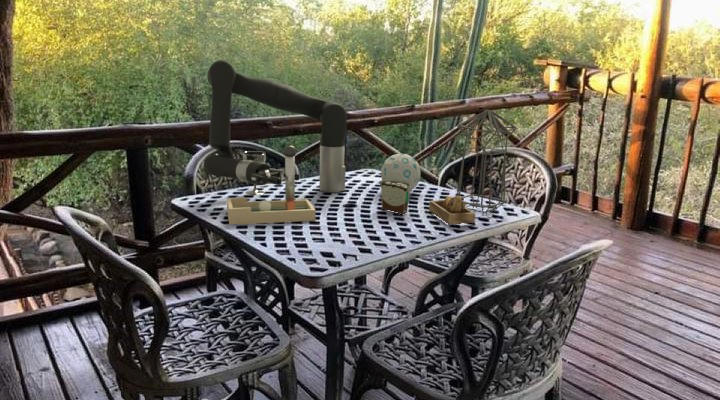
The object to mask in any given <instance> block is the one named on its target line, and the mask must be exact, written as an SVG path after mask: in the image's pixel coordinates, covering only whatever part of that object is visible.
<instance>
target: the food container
mask: <svg viewBox="0 0 720 400" xmlns="http://www.w3.org/2000/svg"><path fill="white" fill-rule="evenodd" d="M379 187H380V191H381V192H380V195H381V210H382V209H386V210H390V211H394V212H398V213H401V214H405V213H407V212H408V208H409V200H410V194H411V192H412V191H413V189H412V187H411V184H410V183H409V182H406V181H402V180H382V179H381V180H380V183H379ZM386 210H385V211H386ZM405 215H406V214H405Z"/></svg>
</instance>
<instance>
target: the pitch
mask: <svg viewBox="0 0 720 400" xmlns="http://www.w3.org/2000/svg"><path fill="white" fill-rule="evenodd" d="M261 201H262V200H261ZM261 201H260V200H259V201H249V200H248V197H229V198H228V197H227V198H226V213H227V218H228V225H229V224H237V225H250V224H253V225H255V224H272V223H273V224H274V223H292V222H293V223H294V222H310V221H311V222H312V221H313V222H314V221H316V209H315V207H314V206H313V204H312V203H311V201H310V200H309V199H306V198H305V199H295V200H294V201H295V210H286V208H285V199H284V200H283V199H282V200H268V201H269V202H270V203H271V210H270V211H260V210H259V203H260V202H261Z"/></svg>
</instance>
